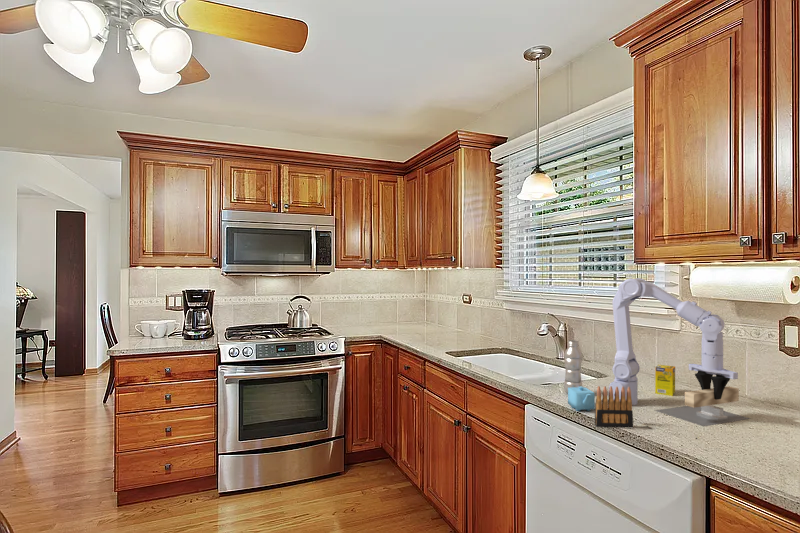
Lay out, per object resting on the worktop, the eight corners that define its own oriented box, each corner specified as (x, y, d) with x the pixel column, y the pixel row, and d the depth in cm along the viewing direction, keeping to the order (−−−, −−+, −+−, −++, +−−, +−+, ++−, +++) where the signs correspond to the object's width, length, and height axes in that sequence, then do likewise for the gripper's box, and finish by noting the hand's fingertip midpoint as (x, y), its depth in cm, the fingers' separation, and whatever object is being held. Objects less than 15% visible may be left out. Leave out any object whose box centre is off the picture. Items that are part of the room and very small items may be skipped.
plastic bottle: (584, 396, 178) (584, 342, 179) (564, 395, 180) (565, 341, 180) (581, 392, 185) (581, 340, 185) (562, 391, 186) (562, 339, 186)
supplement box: (673, 398, 176) (673, 368, 176) (654, 396, 180) (654, 366, 180) (675, 395, 181) (675, 366, 181) (657, 392, 185) (657, 364, 185)
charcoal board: (703, 429, 143) (703, 426, 143) (654, 413, 158) (654, 410, 158) (751, 421, 150) (751, 418, 150) (699, 406, 166) (699, 404, 166)
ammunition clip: (630, 425, 146) (631, 385, 146) (633, 427, 144) (633, 387, 144) (594, 424, 147) (594, 385, 147) (596, 426, 145) (596, 386, 145)
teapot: (599, 415, 156) (599, 392, 156) (580, 415, 156) (580, 392, 156) (583, 404, 168) (583, 383, 168) (566, 404, 168) (566, 383, 168)
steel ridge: (718, 421, 147) (718, 410, 147) (696, 415, 154) (696, 404, 154) (727, 420, 149) (728, 408, 149) (706, 413, 155) (706, 402, 155)
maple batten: (693, 407, 146) (693, 394, 146) (684, 405, 149) (684, 392, 149) (738, 401, 153) (738, 388, 153) (729, 398, 156) (729, 386, 156)
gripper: (744, 357, 146) (744, 402, 146) (699, 349, 159) (699, 390, 159) (728, 358, 143) (728, 404, 143) (684, 350, 157) (683, 392, 157)
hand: (712, 397), depth 151 cm, fingers closed on maple batten, 3 cm apart
